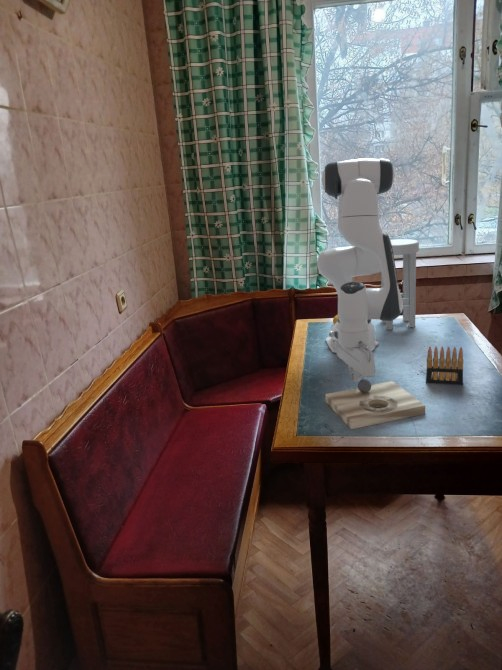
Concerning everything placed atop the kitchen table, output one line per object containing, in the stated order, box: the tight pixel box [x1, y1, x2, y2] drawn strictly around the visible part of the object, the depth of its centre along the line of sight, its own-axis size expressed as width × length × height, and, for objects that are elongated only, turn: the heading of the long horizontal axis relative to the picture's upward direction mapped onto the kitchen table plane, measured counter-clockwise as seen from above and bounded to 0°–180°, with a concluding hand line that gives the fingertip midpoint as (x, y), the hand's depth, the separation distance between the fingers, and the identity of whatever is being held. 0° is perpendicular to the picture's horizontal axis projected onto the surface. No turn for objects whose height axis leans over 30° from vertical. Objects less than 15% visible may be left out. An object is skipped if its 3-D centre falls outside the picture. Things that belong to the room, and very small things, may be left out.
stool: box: [380, 238, 420, 330], centre depth 205 cm, size 16×16×35 cm
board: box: [324, 380, 426, 430], centre depth 142 cm, size 18×22×2 cm
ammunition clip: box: [425, 346, 464, 386], centre depth 151 cm, size 11×2×12 cm, turn 71°
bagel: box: [332, 314, 338, 326], centre depth 215 cm, size 10×11×5 cm
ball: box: [357, 378, 372, 393], centre depth 146 cm, size 4×4×4 cm
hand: (355, 379), depth 152 cm, fingers closed
